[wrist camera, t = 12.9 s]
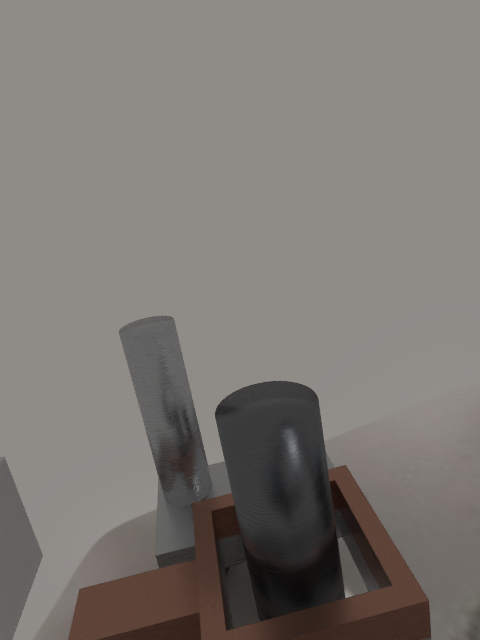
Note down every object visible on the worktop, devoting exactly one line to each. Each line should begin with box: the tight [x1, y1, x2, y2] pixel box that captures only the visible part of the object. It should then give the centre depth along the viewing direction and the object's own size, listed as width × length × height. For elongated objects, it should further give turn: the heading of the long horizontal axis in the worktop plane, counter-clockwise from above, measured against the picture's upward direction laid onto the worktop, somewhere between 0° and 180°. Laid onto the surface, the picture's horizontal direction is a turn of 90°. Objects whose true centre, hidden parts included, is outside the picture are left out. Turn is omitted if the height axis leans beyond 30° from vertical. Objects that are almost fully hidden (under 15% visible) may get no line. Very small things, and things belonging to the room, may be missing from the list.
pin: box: [215, 381, 345, 622], centre depth 22 cm, size 4×4×16 cm
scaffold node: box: [68, 316, 431, 640], centre depth 24 cm, size 16×15×18 cm
